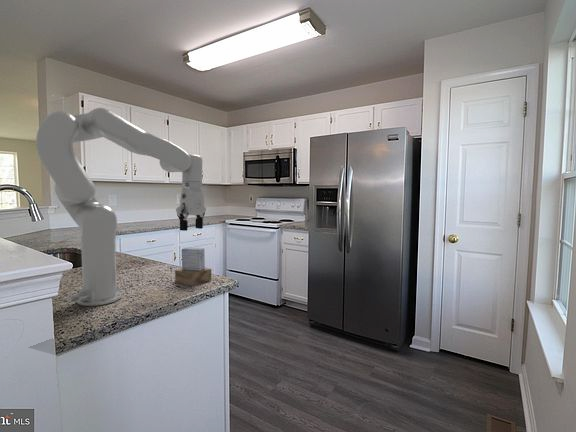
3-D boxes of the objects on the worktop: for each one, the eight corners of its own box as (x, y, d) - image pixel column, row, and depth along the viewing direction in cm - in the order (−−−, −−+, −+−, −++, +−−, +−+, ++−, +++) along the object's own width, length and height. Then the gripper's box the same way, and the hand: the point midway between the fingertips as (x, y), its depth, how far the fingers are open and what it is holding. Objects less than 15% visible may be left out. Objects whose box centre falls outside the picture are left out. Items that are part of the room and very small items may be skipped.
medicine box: (205, 268, 127) (204, 247, 126) (199, 271, 123) (199, 249, 122) (187, 267, 128) (187, 247, 128) (181, 270, 124) (181, 248, 123)
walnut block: (191, 286, 119) (191, 273, 119) (175, 282, 125) (175, 270, 124) (211, 280, 127) (211, 268, 127) (195, 276, 133) (195, 265, 133)
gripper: (185, 185, 113) (185, 232, 114) (212, 187, 130) (212, 228, 131) (169, 185, 116) (168, 230, 117) (197, 187, 132) (197, 227, 133)
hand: (191, 229), depth 124 cm, fingers open, 9 cm apart
